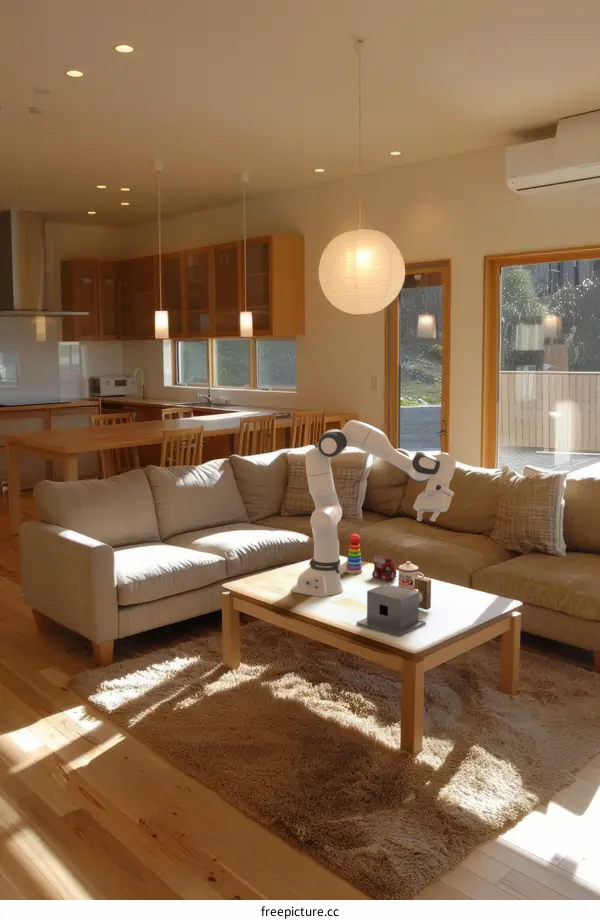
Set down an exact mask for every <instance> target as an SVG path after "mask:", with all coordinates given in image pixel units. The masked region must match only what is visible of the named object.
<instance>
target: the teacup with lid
mask: <svg viewBox="0 0 600 920" xmlns="http://www.w3.org/2000/svg"><path fill="white" fill-rule="evenodd" d="M397 569H398V587H400V588H404V589H411V590H412V589H414V588H415V578H417V577H419V575H420V577H422V578H425V575H424V574H423V573H422V572H419V569H420V568H419V566H417V565H415V564H414V563H412V562H411V561H410V560H409V561H408V560H407V561H406V562H405V563H403V564H400V565H398V568H397Z"/></svg>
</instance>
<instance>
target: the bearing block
mask: <svg viewBox="0 0 600 920" xmlns="http://www.w3.org/2000/svg"><path fill="white" fill-rule="evenodd" d="M366 594H367V595H366V606H367V607H366V617H365V618H362V619H361V620H358V621H356V626H359V627H363V628H366V629H369V630H373V631H376V632H379V633H381V634H386V635H388V636H392V637H396V638H401V637H403V636H404V635H407V634H409V633H411V632H414V631H415V630H418V629H419V627H420V628H421V626H422V627H424V626H426V625H427V621H425V620H422V619H419V615H420V613H419V612H420V608H419V592H416V591H412V589H411V590H408V589H404V588H400V587H399V586H396V585H391V584H387V583H384V584H382V585H380V586H379V585H378V586H376V587H374V588H372V589H369V590H367V591H366ZM425 624H426V625H425ZM423 625H424V626H423ZM417 628H418V629H417Z"/></svg>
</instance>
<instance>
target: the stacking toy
mask: <svg viewBox="0 0 600 920" xmlns="http://www.w3.org/2000/svg"><path fill="white" fill-rule="evenodd" d="M349 542H350V544H349V548H348V553H347V555H348V556H347V560H346V565H345V573H346V574H349V575H358V574H359V573H360V574H361V573H363V569H362V568H363V565H362V563H363V562H362V557H361V555H362V554H361V549H360V548H361V545H360V542H361V536H360V534H357V533H352V534H351V535H350V536H349Z"/></svg>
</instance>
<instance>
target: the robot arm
mask: <svg viewBox="0 0 600 920" xmlns="http://www.w3.org/2000/svg"><path fill="white" fill-rule="evenodd" d="M348 446H350V447H351V446H352V447H355V448H357V449H359V450H361V451H363V452H365V453H367V454H369V455H371V456H375V457H377V458H378V459H380V460H383V461H385V462H386V463H388V464H390V465H392V466H394V467H396V469H399V470H401V472H404V473H405V474H406V475H407V476H408V477H409V479H410V480H412V481H413V482H415V483H418V484H423V483H426V482H427V484H426V487H425V489H424V490H422V491H421V493H419V494H418V495H417V497H416V499H415V502H414V504H413V505H412V506H413V510H415V511H416V512H417V514H416V515H417V517H416V521H419V522H422V520H423V519H424V517H423V514H424V513H427V512H428V513H432V512H433V513H432V515H430V517H429V521H431V522H436V520H437V518H438V517H439V516H440V514H441V513H444V512H445V513H446V512H447V511H448V510H449V508H450V505H451V501H452V498H453V497H454V495H455V491H452V490H451V489H450V483H451V481H452V479H453V477H454V474H455V470H456V465H457V462H456V459H455V458H454V456H453V455H452V454H449V453H447V452H443V451H442V452H439V453H427V452H419V453H417V454H415V456H414V457H411V458H410V457H409V456H407V455H405V454H403V453H402V452H399V450H397V449H395V448H394V446H392V444H391V442H390V440H389V438H388V436H387V434H386V433H384V432H383V431H381V430H380V429H379V428H376V427H374V426H373V425H370V424H367V423H366V422H363V421H360V420H355V419H351V420H348V421H347V422H346V423H345V424H344V426H343V428H341V429H340V428H335V427H334V428H331V429H329V430H327V431H325V432H324V433H323V434H322V435H321V436H319V439H318V442H317V447H313V448H310V449H309V450H308V451H306V453H305V472H306V477H307V484H308V490H309V491H308V492H309V494H310V496H311V497H312V499H313V503H314V507H315V509H314V511H313V512H312V513H311V516H310V521H309V523H310V526H311V530H312V538H313V556H312V557H311V559H310V560H309V564H308V565H309V567H308V568H306V569H305V570H303V571H302V572H301V573H300V574H299V575H298V577H297V580H296V581H297V582H296V583H295V584H294V585H292V587H291V588H292V589H291V591H292V593H297V594H302V595H303V594H304V595H309V596H314V597H321V598H322V597H327V596H334V595H338V594H341V593H343V591H344V590H343V585H342V580H341V564H342V563H341V559H340V541H339V537H338V529H337V528H338V523H339V522H340V521H341V519H342V516H343V509H342V506H341V504H340V501H339V497H338V495H337V492H336V488H335V487H336V486H335V482H334V476H333V475H334V474H333V470H332V469H333V468H332V466H331V462H332V461H331V459H332V458H334V457H336V456H339V455H340V454H342V453H343V452H344V451H345V449H346V448H347V447H348Z"/></svg>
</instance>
